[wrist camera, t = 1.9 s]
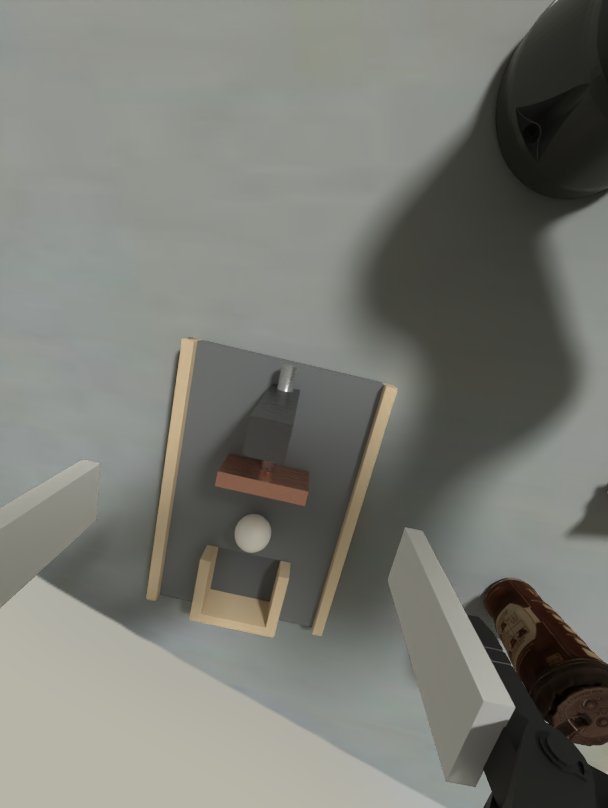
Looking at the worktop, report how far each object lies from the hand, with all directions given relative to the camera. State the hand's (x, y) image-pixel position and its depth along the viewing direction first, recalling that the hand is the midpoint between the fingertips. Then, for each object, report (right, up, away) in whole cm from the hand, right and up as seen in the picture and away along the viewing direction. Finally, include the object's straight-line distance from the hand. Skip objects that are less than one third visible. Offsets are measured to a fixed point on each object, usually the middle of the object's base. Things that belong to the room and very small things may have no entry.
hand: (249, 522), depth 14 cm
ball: (-3, -9, +22) cm, 24 cm away
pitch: (-2, -5, +25) cm, 26 cm away
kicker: (-1, +3, +21) cm, 21 cm away
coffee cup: (+28, -19, +28) cm, 44 cm away
